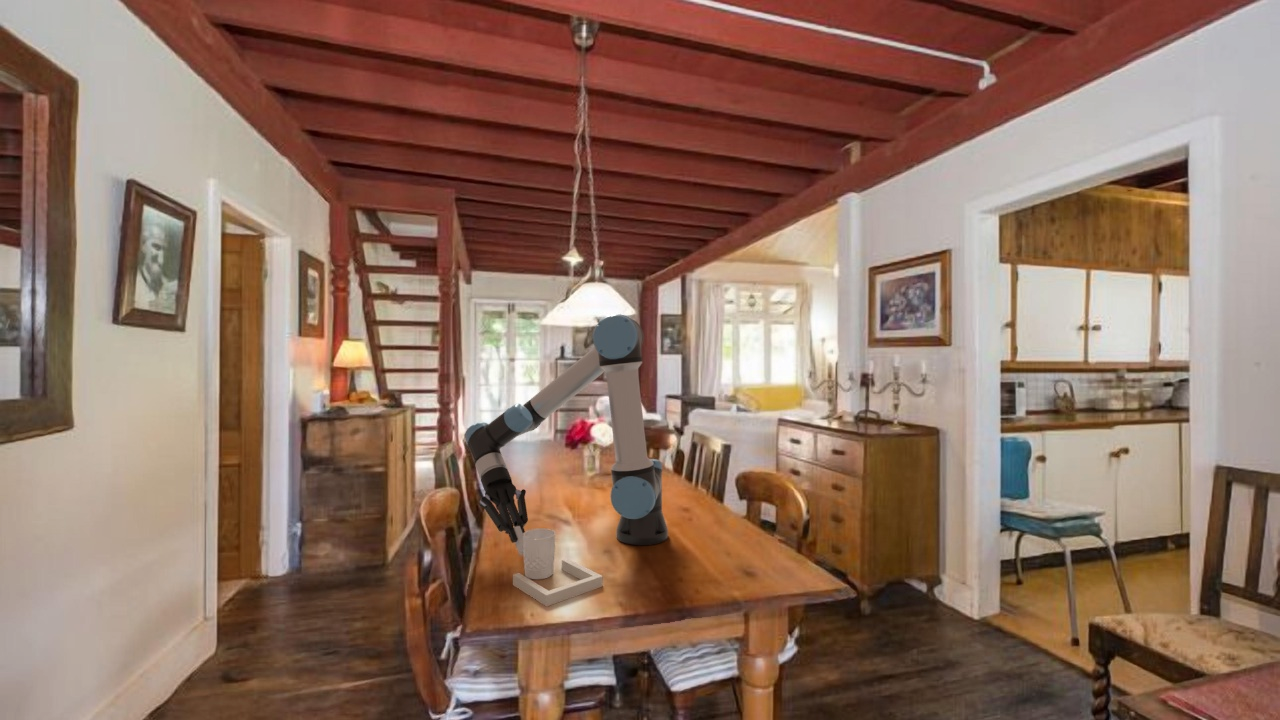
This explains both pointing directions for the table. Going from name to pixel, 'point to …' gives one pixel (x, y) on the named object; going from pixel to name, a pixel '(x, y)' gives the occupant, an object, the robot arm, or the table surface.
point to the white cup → (538, 553)
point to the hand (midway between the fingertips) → (524, 551)
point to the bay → (547, 598)
